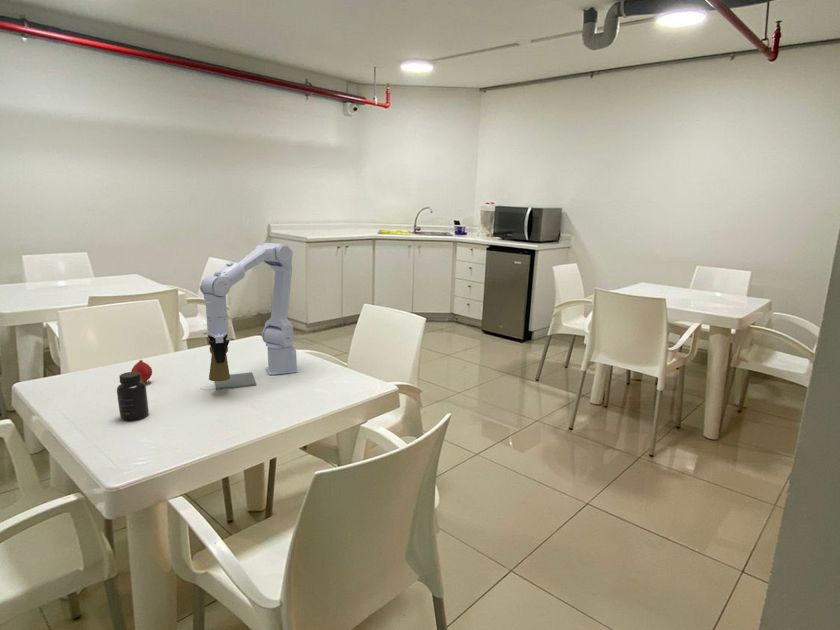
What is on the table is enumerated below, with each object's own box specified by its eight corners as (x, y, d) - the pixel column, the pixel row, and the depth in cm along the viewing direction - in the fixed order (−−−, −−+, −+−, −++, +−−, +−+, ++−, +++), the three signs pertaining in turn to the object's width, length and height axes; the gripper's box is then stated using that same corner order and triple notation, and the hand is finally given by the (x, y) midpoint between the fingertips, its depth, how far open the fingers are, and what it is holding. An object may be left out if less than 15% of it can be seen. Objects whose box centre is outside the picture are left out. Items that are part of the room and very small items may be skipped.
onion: (128, 385, 159) (125, 360, 158) (143, 379, 165) (141, 355, 163) (141, 388, 157) (139, 363, 156) (157, 382, 162) (155, 358, 161)
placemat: (252, 373, 172) (252, 372, 172) (256, 385, 162) (256, 383, 162) (214, 377, 168) (214, 376, 167) (215, 390, 157) (215, 388, 157)
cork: (225, 381, 151) (224, 346, 149) (205, 380, 151) (204, 344, 149) (233, 375, 157) (232, 341, 155) (214, 374, 157) (213, 340, 155)
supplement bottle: (129, 410, 140) (125, 369, 138) (154, 411, 140) (150, 370, 138) (114, 421, 134) (109, 378, 131) (139, 422, 133) (135, 379, 131)
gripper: (201, 312, 155) (204, 354, 158) (202, 322, 142) (206, 368, 145) (226, 310, 158) (228, 352, 161) (229, 320, 145) (232, 365, 148)
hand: (219, 359), depth 153 cm, fingers closed on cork, 5 cm apart
